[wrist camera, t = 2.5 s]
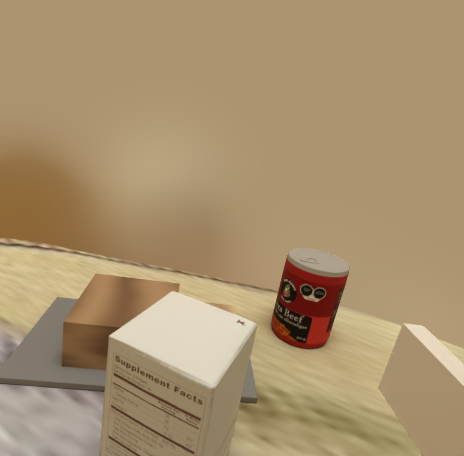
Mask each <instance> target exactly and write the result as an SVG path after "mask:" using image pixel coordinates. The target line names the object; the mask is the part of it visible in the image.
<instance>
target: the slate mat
mask: <svg viewBox="0 0 464 456" xmlns="http://www.w3.org/2000/svg"><path fill="white" fill-rule="evenodd" d="M77 301H78V299H69V298H60V297H57V298H56V299H55V301H54V302H53V303H52V305H51V306H50V307H49V308H48V310H47V311H46V312H45V313H44V315H43V316H42V317H41V318H40V320H39V321H38V322H37V323H36V325H35V326H34V327H33V328H32V330H31V331H30V332H29V333H28V335H27V336H26V337H25V339H24V340H23V341H22V342H21V344H20V345H19V346H18V347H17V349H16V350H15V351H14V352H13V354H12V355H11V356H10V357H9V359H8V360H7V361H6V362H5V364H4V365H3V366H2V367H1V369H0V383H4V384H17V385H30V386H43V387H56V388H69V389H82V390H95V391H105V381H106V370H97V369H85V368H73V367H62V346H63V322H64V320H65V319H66V317H67V316H68V314H69V313H70V311H71V310H72V308H73V307H74V305H75V304H76V302H77ZM240 402H251V403H256V402H257V393H256V388H255V383H254V378H253V373H252V367H251V362H250V360H249V364H248V369H247V373H246V378H245V382H244V387H243V391H242V395H241V400H240Z"/></svg>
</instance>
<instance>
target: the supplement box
mask: <svg viewBox="0 0 464 456" xmlns="http://www.w3.org/2000/svg"><path fill="white" fill-rule="evenodd" d="M256 329H257V324H256V323H254V322H252V321H250V320H247V319H245V318H243V317H240V316H238V315H235V314H233V313H230V312H228V311H225V310H222V309H220V308H217V307H214V306H212V305H209V304H207V303H204V302H201V301H199V300H196V299H194V298H191V297H189V296H186V295H183V294H181V293H178V292H175V291H171V292H170V293H169V294H167V295H166V296H165V297H163V298H162V299H160V300H159V301H158V302H156V303H155V304H153V305H152V306H150V307H149V308H148V309H146V310H145V311H143V312H142V313H141V314H139V315H138V316H136V317H135V318H134V319H132V320H131V321H129V322H128V323H126V324H125V325H124V326H122V327H121V328H119V329H118V330H117V331H115V332H114V333H112V334H111V335H109V343H108V355H107V368H106V381H105V393H104V407H103V419H102V434H101V447H100V456H228V454H229V449H230V444H231V440H232V436H233V431H234V426H235V422H236V417H237V413H238V409H239V404H240V400H241V395H242V391H243V387H244V382H245V378H246V373H247V369H248V364H249V360H250V356H251V351H252V347H253V342H254V338H255V333H256Z"/></svg>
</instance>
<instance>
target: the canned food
mask: <svg viewBox="0 0 464 456" xmlns="http://www.w3.org/2000/svg"><path fill="white" fill-rule="evenodd" d="M348 274H349V265H348V264H347V263H346V262H345V261H344V260H342V259H341V258H339V257H337V256H335V255H333V254H330V253H327V252H324V251H320V250H316V249H310V248H295V249H292V250H290V251H289V253H288V255H287V259H286V263H285V266H284V271H283V274H282V279H281V283H280V287H279V291H278V295H277V299H276V304H275V308H274V312H273V316H272V328H273V331H274V332H275V334H276V335H277V336H278V337H279V338H281V339H282V340H284V341H285V342H287V343H289V344H291V345H294V346H297V347H302V348H317V347H320V346H322V345H323V344H324V343H325V342H326V341H327V339H328V338H329V335H330V332H331V329H332V325H333V322H334V319H335V316H336V313H337V310H338V306H339V303H340V300H341V297H342V293H343V290H344V287H345V284H346V280H347V277H348Z"/></svg>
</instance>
